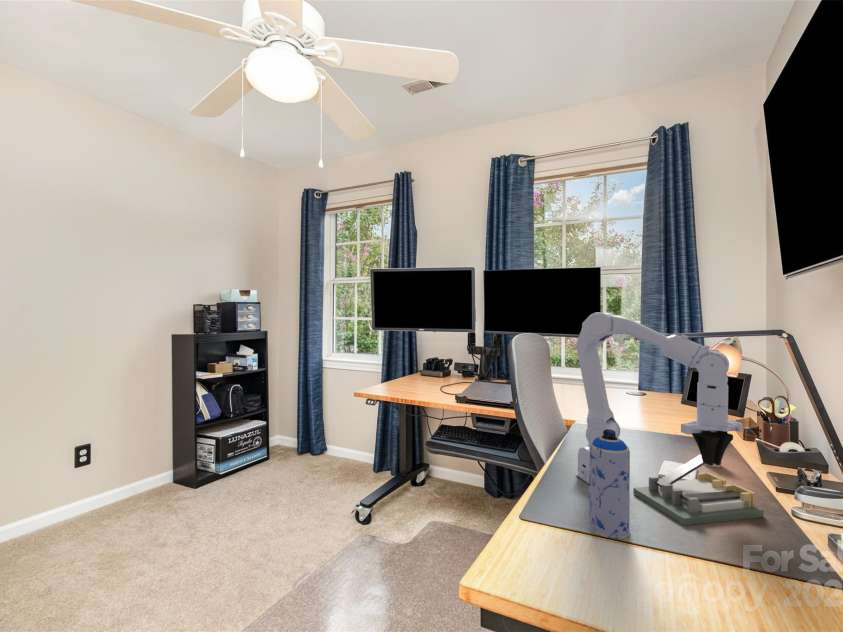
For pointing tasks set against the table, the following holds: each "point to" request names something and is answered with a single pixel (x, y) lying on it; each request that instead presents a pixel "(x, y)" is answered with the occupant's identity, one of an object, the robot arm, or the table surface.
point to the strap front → (712, 496)
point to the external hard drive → (671, 466)
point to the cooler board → (693, 509)
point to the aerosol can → (609, 486)
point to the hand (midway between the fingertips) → (711, 463)
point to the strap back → (681, 471)
